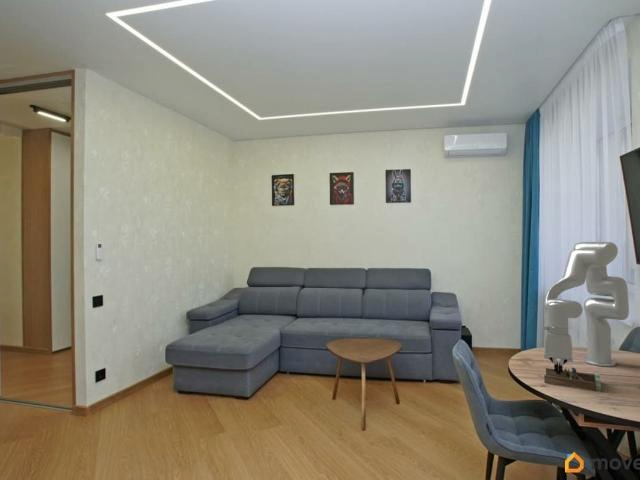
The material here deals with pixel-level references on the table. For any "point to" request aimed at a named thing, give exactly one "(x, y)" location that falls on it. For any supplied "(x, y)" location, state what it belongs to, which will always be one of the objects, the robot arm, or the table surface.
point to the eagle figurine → (572, 374)
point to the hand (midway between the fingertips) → (558, 373)
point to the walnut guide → (574, 380)
